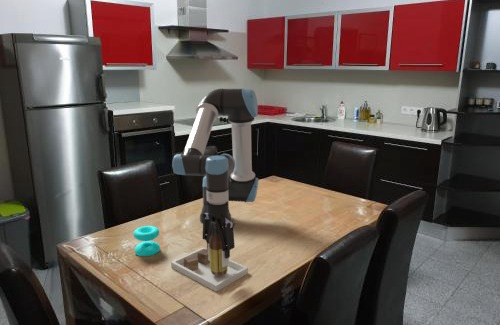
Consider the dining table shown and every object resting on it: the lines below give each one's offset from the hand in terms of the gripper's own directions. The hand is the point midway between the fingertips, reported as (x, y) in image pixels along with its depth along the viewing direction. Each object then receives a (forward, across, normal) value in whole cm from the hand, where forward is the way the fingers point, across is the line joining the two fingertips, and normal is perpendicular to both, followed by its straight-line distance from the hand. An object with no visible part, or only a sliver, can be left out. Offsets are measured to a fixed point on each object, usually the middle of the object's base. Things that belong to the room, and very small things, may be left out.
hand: (218, 262), depth 139 cm
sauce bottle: (+4, 0, 0) cm, 4 cm away
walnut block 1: (+5, -11, -4) cm, 13 cm away
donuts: (+6, -35, -6) cm, 36 cm away
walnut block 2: (+5, -11, +3) cm, 13 cm away
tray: (+6, -5, 0) cm, 8 cm away
